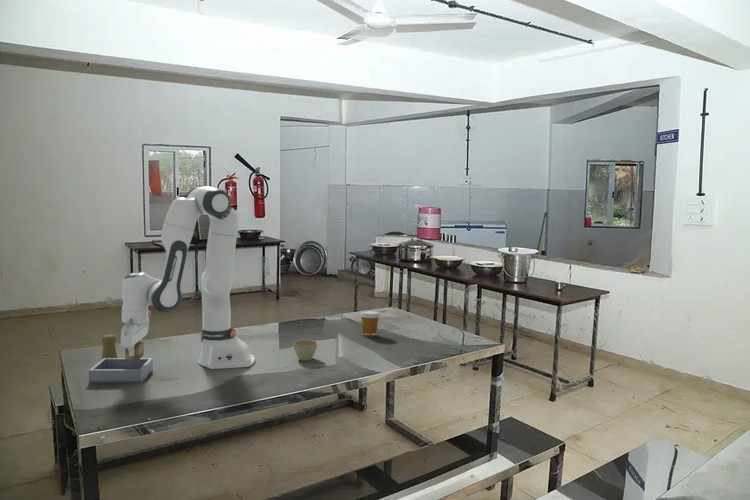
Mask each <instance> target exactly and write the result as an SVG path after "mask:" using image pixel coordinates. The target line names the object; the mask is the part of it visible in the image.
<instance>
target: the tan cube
mask: <svg viewBox="0 0 750 500" xmlns="http://www.w3.org/2000/svg"><path fill="white" fill-rule="evenodd" d="M144 345H145V342H144V341H143V342H137V343H136V344H135V347H134V350H135V355H134V356H129V351H128V348H124V350H125V351H124V355H125V356H124V358H125V359H140V358H143V357H144V356H145V355H144V352H145V346H144Z"/></svg>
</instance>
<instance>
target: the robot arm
mask: <svg viewBox="0 0 750 500" xmlns="http://www.w3.org/2000/svg"><path fill="white" fill-rule="evenodd" d="M202 215H203V216H208V219H209V229H208V235H207V240H206V241H207V243H206V250H205V267H204V271H203V272H202V274H201V285H200V286H201V309H202V310H201V312H202V318H201V319H202V328H201V330H200V342H201V347H200V348H201V349H200V354H199V358H198V361H197V362H198V364H199V365H200V366H202V367H206V368H208V369H210V370H221V369H234V368H248V367H251V366H253V365H254V363H255V361H256V358H255V355H254V354H250V353H251V352H250V349H249V346H248V344H247V343H246V342H244V341H242V340H241V339H240V338H238V337H237V336H236V335H237V334H236V333H237V331H236V328H234V327H232V326H231V321H232V320H231V317H232V314H231V299H230V298H231V297H230V293H231V292H232V291H231V290H232V288H233V283H234V282H233V281H234V270H235V269H234V268H235V253H236V245H237V237H238V230H239V229H238V227H239V223H238V222H239V219H238V212H237V211H236V210H235V209H234V208H232V202H231V198H230V195H228V193H227V192H226V191H225V190H223V189H221V188H220V187H219V188H218V187H215V186H214V187H213V186H210V185H209V186H202V185H201V186H200V185H199V186H195V187H192V188H190V189H189V191H188V192H187V193H186V195H185V196H184V197H177V198H175V199H174V200H173V201H172V203H171V204H170V206H169V209H168V211H167V214H166V216H165V218H164V222H163V225H162V229H161V237H160V238H161V239H160V241H161V243H162V245H163V248H164V250H165V254H166V261H165V262H166V263H165V266H164V271H163V276H162V279H159V278H155V277H153V276H151V275H149V274H147V273H146V272H145V271H137V272H135V271H134V272H131V273H128V274H126V275H125V276H124V277H123V280H122V285H121V300H122V305H121V322H122V323H123V324H125V325H123V326H122V328H121V331H120V333H121V334H120V347H121V348H122V349H125V348H128V351H129V356H134V355H135V350H134V347H135V344H136V343H137V342H142V341H143V338H144V337H146V336H147V335H148V332H149V325H150V317H151V311H150V310H149V306H153V307H154V309H155V310H157V311H158V312H160V313H164V314H165V313H170V312H174V311H175V310H176V309H177V308H178V307H179V306H180V304H181V302H182V291H181V283H182V278H183V273H184V269H185V264H186V259H187V255H188V251H189V248H190V244H191V242H192V238H193V236H194V232H195V228H196V223H197V221H198V220H199V218H200V217H201V216H202Z"/></svg>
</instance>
